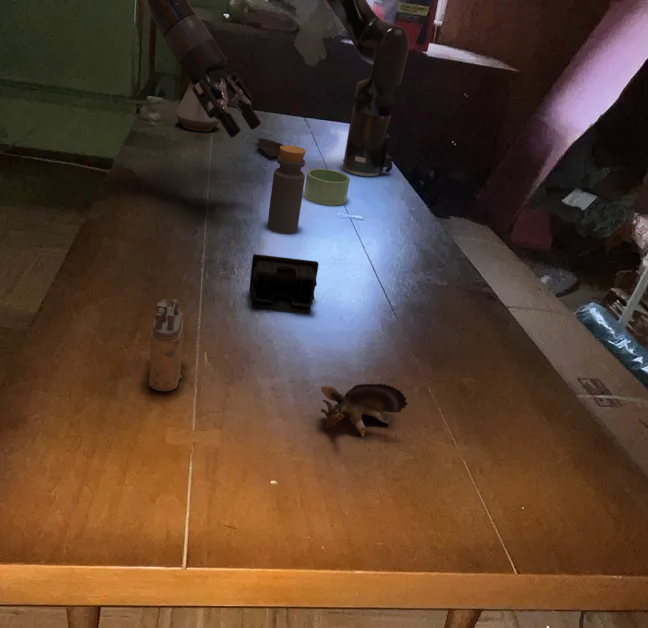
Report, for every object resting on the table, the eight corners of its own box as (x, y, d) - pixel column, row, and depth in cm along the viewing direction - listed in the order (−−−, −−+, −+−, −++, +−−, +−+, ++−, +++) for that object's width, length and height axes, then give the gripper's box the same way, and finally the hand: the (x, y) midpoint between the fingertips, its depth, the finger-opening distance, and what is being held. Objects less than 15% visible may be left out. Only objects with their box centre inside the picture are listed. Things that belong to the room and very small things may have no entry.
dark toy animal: (351, 449, 82) (415, 422, 86) (333, 389, 81) (399, 364, 84) (322, 444, 89) (382, 419, 92) (305, 388, 88) (367, 365, 91)
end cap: (311, 294, 117) (317, 255, 114) (313, 314, 111) (320, 274, 108) (249, 287, 116) (253, 247, 112) (248, 307, 110) (252, 266, 106)
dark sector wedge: (280, 145, 190) (281, 138, 189) (299, 161, 180) (300, 154, 179) (250, 143, 187) (250, 137, 186) (268, 160, 177) (268, 153, 176)
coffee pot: (174, 119, 196) (177, 59, 188) (217, 123, 199) (222, 64, 191) (177, 141, 179) (180, 76, 171) (224, 146, 182) (229, 82, 174)
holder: (335, 191, 164) (339, 169, 162) (352, 206, 157) (356, 183, 155) (297, 190, 161) (301, 167, 158) (313, 205, 154) (316, 182, 151)
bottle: (266, 220, 142) (276, 142, 134) (296, 223, 143) (307, 146, 135) (267, 231, 137) (277, 151, 129) (298, 235, 138) (310, 155, 130)
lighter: (155, 360, 94) (158, 290, 88) (185, 363, 94) (189, 293, 89) (146, 390, 88) (149, 317, 82) (178, 394, 88) (182, 321, 83)
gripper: (189, 39, 122) (244, 125, 126) (228, 34, 134) (277, 113, 137) (161, 67, 127) (214, 149, 130) (200, 59, 138) (249, 135, 142)
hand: (246, 130), depth 134 cm, fingers open, 8 cm apart
